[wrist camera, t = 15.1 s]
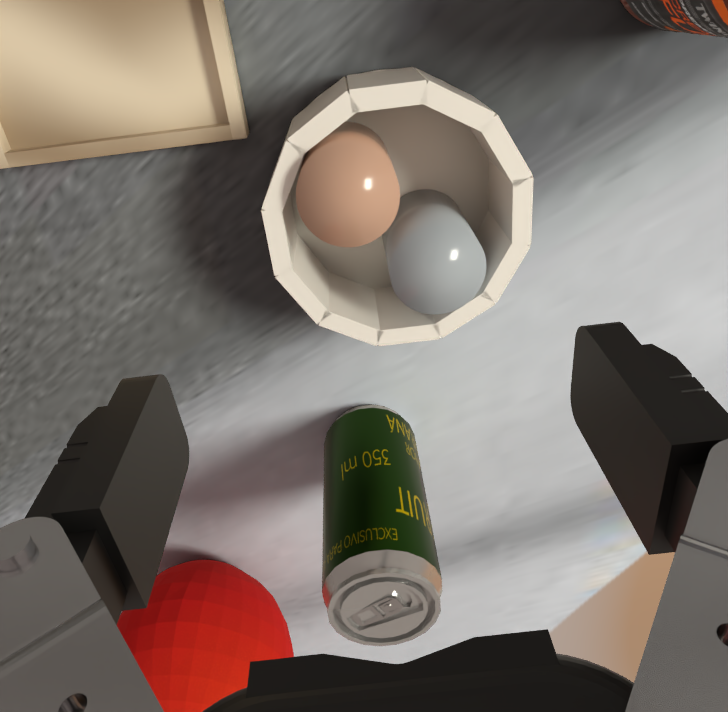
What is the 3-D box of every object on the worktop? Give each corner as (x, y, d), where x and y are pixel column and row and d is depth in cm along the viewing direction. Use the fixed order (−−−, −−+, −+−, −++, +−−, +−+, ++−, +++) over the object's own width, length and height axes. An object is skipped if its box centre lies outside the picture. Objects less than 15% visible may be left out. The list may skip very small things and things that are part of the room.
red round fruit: (113, 606, 43) (40, 815, 32) (156, 504, 39) (86, 708, 28) (263, 642, 46) (242, 845, 35) (320, 551, 41) (316, 753, 30)
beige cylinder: (297, 124, 27) (289, 146, 22) (388, 118, 27) (398, 139, 22) (307, 213, 29) (301, 250, 24) (392, 208, 29) (401, 243, 24)
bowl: (254, 84, 26) (239, 103, 22) (503, 53, 26) (537, 66, 22) (296, 307, 32) (290, 356, 28) (501, 282, 32) (528, 328, 27)
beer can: (355, 483, 38) (365, 663, 28) (306, 427, 36) (297, 602, 26) (429, 445, 37) (467, 619, 27) (384, 384, 35) (406, 551, 24)
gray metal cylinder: (377, 195, 28) (384, 231, 24) (462, 183, 28) (485, 218, 24) (386, 273, 30) (394, 320, 26) (465, 263, 30) (487, 307, 26)
